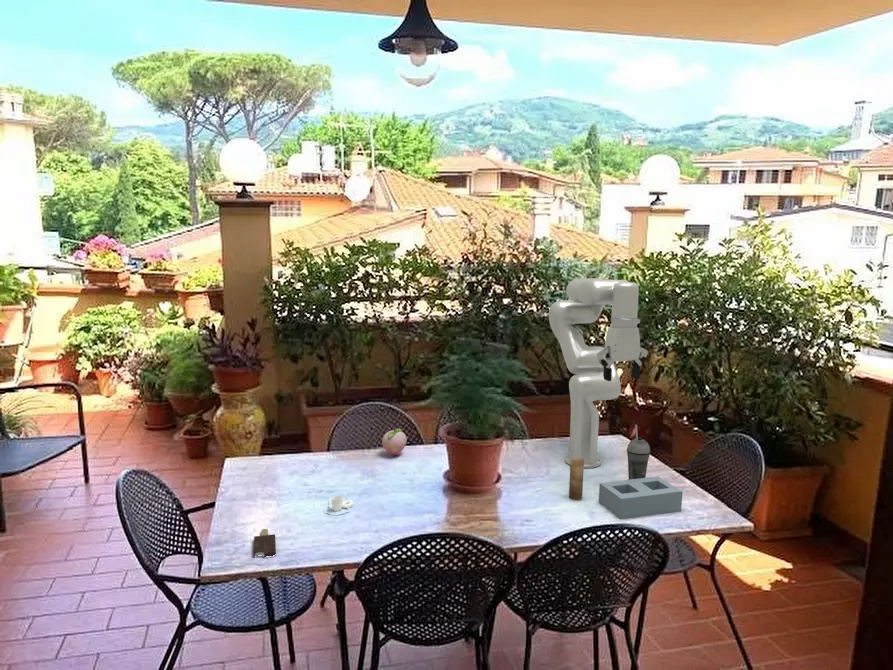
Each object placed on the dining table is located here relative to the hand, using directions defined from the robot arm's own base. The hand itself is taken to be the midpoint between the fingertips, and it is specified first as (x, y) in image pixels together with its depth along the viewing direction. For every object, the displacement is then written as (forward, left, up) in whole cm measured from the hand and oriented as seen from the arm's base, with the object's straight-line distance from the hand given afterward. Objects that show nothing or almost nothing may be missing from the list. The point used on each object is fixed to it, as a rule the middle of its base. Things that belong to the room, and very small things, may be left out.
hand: (621, 379), depth 203 cm
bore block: (+13, 0, -35) cm, 38 cm away
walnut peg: (+2, -15, -35) cm, 38 cm away
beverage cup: (-1, +8, -35) cm, 36 cm away
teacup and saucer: (-7, -83, -36) cm, 91 cm away
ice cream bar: (+7, -106, -36) cm, 112 cm away
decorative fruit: (-49, -60, -35) cm, 85 cm away
